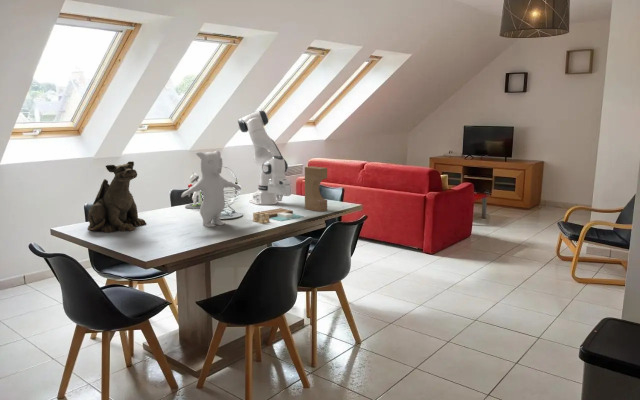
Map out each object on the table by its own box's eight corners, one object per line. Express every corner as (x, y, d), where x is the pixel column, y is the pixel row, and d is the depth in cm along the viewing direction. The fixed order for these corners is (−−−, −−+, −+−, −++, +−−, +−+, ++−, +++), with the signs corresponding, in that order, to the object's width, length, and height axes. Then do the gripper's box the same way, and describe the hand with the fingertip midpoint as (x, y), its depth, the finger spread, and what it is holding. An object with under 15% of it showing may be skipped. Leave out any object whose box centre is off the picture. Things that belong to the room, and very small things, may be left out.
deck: (255, 215, 341) (255, 212, 340) (280, 210, 356) (280, 208, 355) (267, 218, 331) (267, 215, 331) (292, 213, 346) (292, 210, 346)
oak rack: (252, 221, 323) (252, 212, 322) (260, 219, 327) (260, 211, 326) (262, 223, 316) (261, 215, 315) (269, 222, 320) (269, 213, 319)
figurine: (195, 204, 381) (193, 170, 377) (213, 205, 374) (212, 172, 370) (180, 208, 366) (178, 173, 362) (199, 209, 359) (197, 174, 355)
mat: (268, 218, 332) (268, 217, 332) (292, 214, 345) (292, 213, 345) (280, 221, 323) (280, 220, 323) (304, 216, 337) (304, 216, 337)
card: (277, 216, 337) (277, 213, 336) (284, 215, 341) (284, 212, 340) (285, 218, 330) (285, 215, 330) (293, 217, 334) (292, 214, 334)
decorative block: (327, 210, 358) (327, 167, 353) (320, 211, 352) (320, 168, 347) (311, 207, 368) (311, 166, 363) (304, 209, 362) (304, 167, 357)
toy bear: (191, 233, 292) (188, 154, 284) (176, 228, 304) (172, 153, 296) (250, 221, 322) (248, 150, 314) (234, 217, 334) (232, 148, 326)
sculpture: (118, 237, 283) (113, 165, 276) (76, 229, 300) (70, 162, 293) (160, 226, 309) (156, 160, 302) (119, 220, 327) (115, 158, 320)
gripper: (265, 179, 342) (265, 199, 345) (285, 182, 328) (286, 203, 331) (272, 178, 347) (273, 198, 350) (292, 181, 333) (293, 202, 335)
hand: (279, 201), depth 340 cm, fingers closed
